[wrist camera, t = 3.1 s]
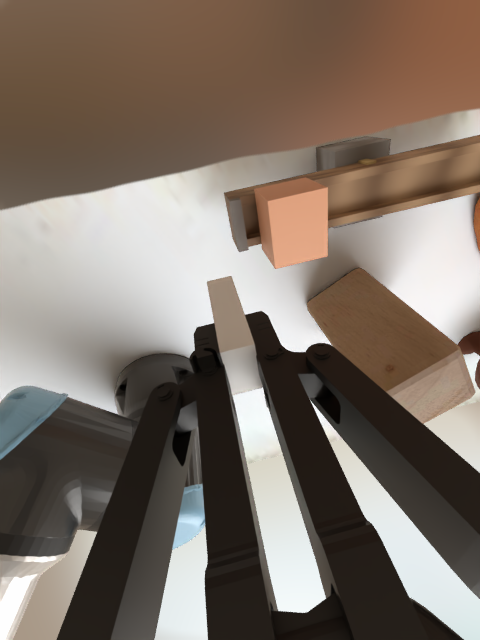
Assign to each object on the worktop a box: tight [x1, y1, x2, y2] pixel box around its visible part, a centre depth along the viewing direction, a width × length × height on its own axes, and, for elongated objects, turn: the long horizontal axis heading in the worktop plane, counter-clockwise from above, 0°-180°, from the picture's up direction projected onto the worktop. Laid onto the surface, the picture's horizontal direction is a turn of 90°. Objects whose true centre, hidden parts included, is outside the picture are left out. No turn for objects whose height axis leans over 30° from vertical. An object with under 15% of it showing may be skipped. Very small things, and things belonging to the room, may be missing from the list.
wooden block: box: [307, 268, 475, 424], centre depth 40 cm, size 10×10×20 cm
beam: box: [224, 135, 480, 252], centre depth 33 cm, size 30×8×9 cm, turn 100°
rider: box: [254, 177, 328, 269], centre depth 28 cm, size 5×6×6 cm
